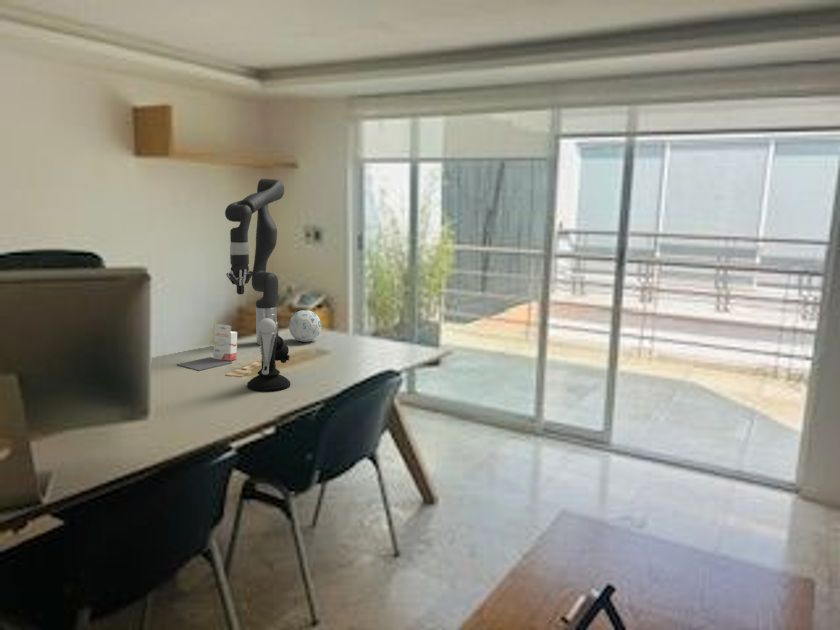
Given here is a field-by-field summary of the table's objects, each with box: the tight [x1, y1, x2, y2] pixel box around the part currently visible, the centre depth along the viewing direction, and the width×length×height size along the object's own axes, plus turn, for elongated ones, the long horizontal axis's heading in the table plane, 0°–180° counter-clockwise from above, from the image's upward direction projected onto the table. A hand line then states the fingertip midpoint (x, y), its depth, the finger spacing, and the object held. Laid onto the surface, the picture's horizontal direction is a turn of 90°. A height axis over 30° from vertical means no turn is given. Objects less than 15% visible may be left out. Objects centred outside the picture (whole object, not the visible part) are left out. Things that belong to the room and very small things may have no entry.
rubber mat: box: [176, 356, 233, 372], centre depth 266 cm, size 16×14×1 cm
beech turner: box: [225, 360, 262, 378], centre depth 259 cm, size 20×7×1 cm, turn 165°
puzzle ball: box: [288, 309, 322, 343], centre depth 311 cm, size 15×15×15 cm
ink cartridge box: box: [212, 323, 238, 362], centre depth 273 cm, size 9×5×15 cm, turn 71°
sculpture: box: [246, 318, 291, 393], centre depth 240 cm, size 15×24×25 cm, turn 172°
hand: (240, 294), depth 277 cm, fingers closed
